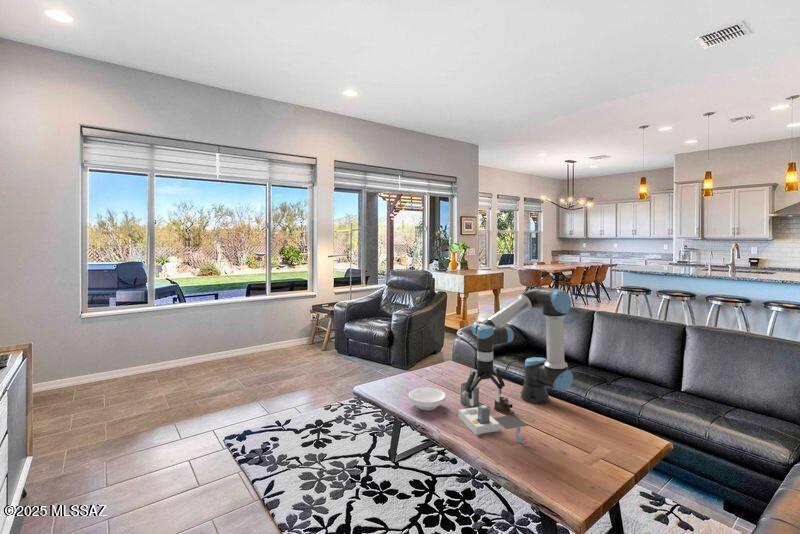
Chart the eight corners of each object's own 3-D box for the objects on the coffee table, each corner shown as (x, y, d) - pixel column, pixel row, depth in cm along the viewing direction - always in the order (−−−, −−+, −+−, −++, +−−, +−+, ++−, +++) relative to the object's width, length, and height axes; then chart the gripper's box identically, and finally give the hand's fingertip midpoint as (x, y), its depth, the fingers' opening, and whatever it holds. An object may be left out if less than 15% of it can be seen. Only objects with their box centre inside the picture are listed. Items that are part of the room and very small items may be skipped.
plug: (484, 425, 190) (485, 404, 190) (489, 429, 187) (489, 407, 186) (477, 426, 189) (478, 405, 189) (481, 430, 186) (482, 408, 185)
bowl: (447, 415, 202) (447, 402, 201) (408, 415, 202) (408, 401, 201) (443, 400, 221) (443, 387, 221) (408, 399, 221) (408, 387, 221)
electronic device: (509, 416, 202) (510, 401, 201) (493, 410, 209) (493, 396, 208) (514, 413, 205) (514, 399, 204) (498, 408, 212) (498, 394, 211)
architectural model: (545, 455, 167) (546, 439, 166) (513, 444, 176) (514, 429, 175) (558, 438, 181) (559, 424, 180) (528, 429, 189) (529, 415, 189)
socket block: (479, 414, 204) (479, 406, 203) (499, 431, 186) (499, 422, 185) (458, 417, 200) (458, 409, 200) (476, 435, 182) (476, 426, 182)
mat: (513, 415, 202) (513, 414, 202) (528, 426, 191) (528, 425, 191) (493, 418, 199) (493, 417, 199) (506, 430, 187) (506, 428, 187)
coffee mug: (468, 397, 225) (468, 380, 224) (482, 403, 217) (482, 385, 216) (452, 404, 216) (452, 386, 215) (467, 410, 208) (467, 391, 208)
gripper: (504, 354, 193) (503, 396, 195) (457, 359, 185) (457, 403, 187) (512, 358, 186) (512, 402, 187) (464, 364, 178) (464, 410, 180)
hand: (484, 403), depth 187 cm, fingers open, 13 cm apart
